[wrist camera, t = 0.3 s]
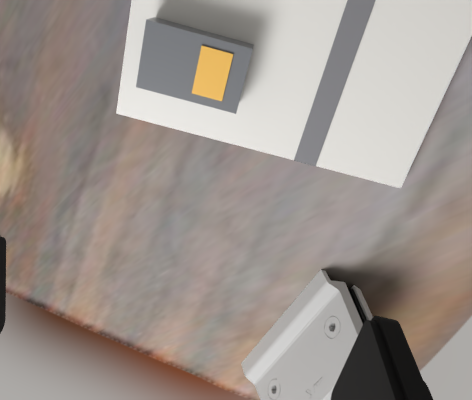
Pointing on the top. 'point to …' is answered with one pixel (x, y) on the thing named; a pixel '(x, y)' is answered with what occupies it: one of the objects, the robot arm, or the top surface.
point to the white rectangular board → (317, 77)
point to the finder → (193, 64)
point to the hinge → (308, 342)
